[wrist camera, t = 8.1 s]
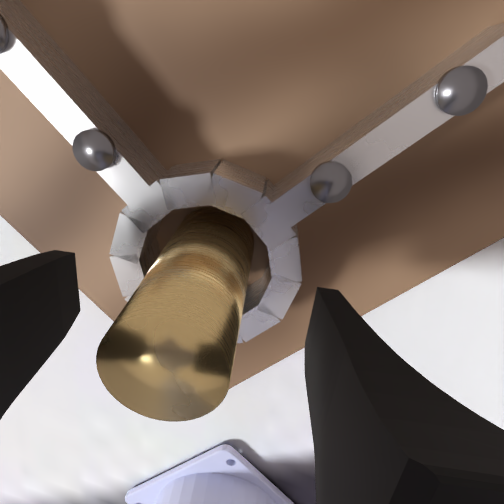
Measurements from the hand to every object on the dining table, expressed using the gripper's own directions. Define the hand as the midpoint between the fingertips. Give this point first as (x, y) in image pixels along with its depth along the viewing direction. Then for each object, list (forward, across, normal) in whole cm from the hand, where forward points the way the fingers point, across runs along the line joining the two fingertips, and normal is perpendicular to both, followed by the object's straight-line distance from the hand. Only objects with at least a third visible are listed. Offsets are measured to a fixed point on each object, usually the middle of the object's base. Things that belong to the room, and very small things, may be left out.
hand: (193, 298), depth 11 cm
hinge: (+4, 0, -6) cm, 7 cm away
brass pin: (+4, 0, 0) cm, 4 cm away
